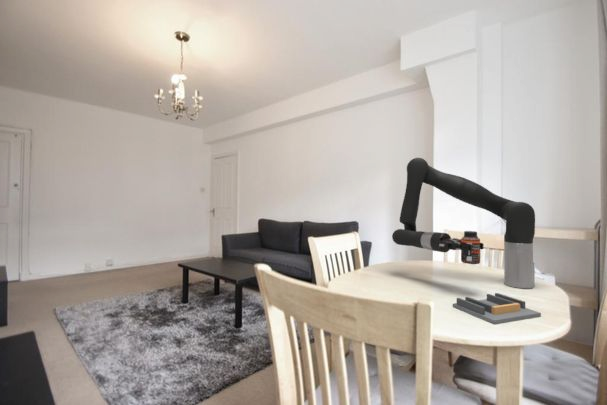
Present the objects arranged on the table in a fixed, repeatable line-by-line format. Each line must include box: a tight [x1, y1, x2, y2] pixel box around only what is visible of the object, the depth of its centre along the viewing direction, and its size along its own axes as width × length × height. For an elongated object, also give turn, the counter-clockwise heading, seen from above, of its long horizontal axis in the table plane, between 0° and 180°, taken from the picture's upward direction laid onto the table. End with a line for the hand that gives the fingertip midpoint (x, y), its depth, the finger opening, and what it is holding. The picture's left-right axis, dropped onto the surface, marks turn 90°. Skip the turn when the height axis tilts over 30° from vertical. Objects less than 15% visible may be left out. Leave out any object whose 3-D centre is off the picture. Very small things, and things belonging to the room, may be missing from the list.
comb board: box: [452, 292, 542, 325], centre depth 88 cm, size 18×14×3 cm
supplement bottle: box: [460, 230, 481, 265], centre depth 104 cm, size 6×6×11 cm
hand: (477, 246), depth 102 cm, fingers closed on supplement bottle, 6 cm apart
